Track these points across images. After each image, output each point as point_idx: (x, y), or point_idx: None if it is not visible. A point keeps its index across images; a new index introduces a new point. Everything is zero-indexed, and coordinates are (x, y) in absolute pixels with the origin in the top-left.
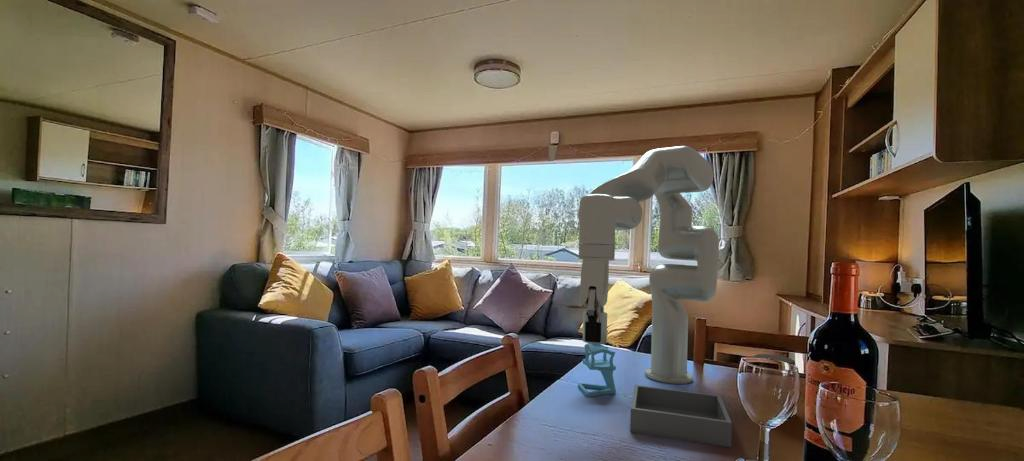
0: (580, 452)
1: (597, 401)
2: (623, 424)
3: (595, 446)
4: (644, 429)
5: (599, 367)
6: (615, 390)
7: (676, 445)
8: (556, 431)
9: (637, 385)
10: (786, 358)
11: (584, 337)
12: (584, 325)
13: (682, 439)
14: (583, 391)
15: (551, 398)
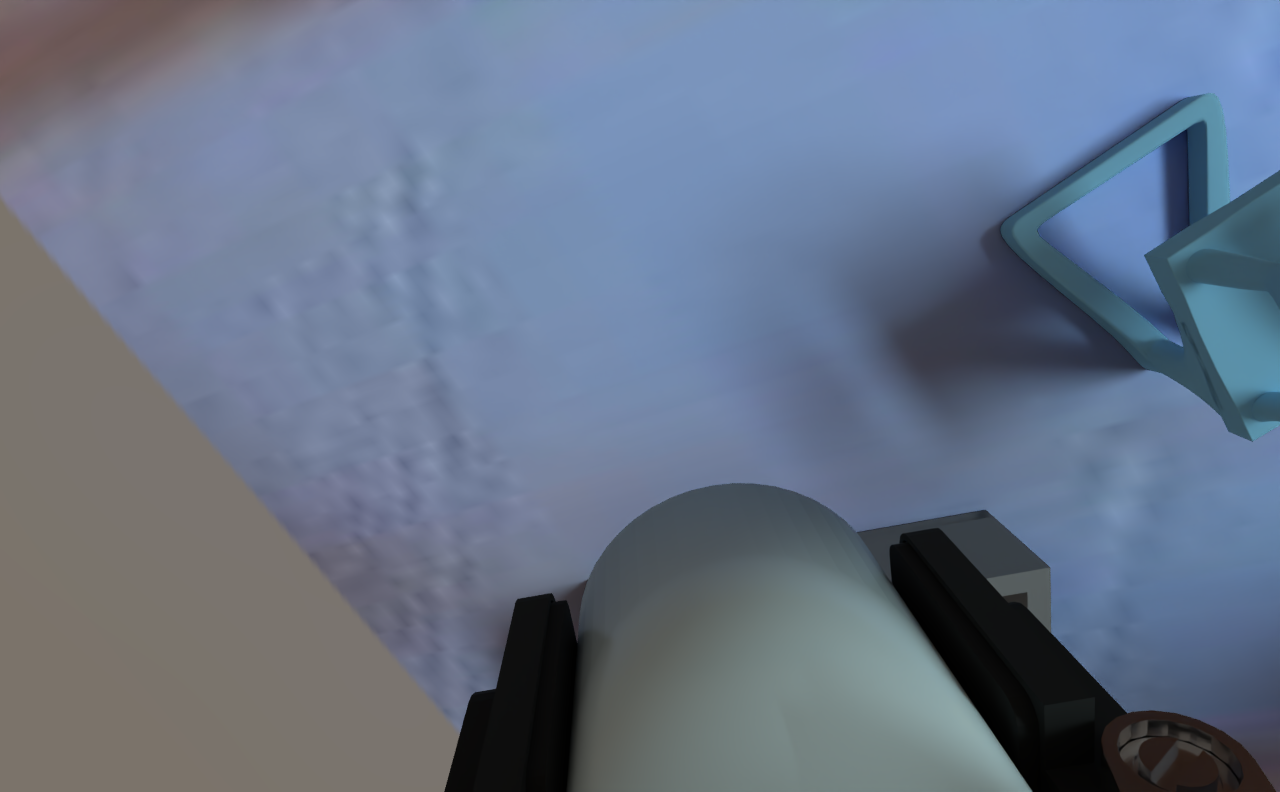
0: (221, 454)
1: (942, 313)
2: None
3: (327, 491)
4: None
5: (1191, 326)
6: (1158, 371)
7: None
8: (363, 265)
9: (1043, 584)
10: None
11: (614, 568)
12: (617, 676)
13: None
14: (1067, 182)
15: (855, 14)
